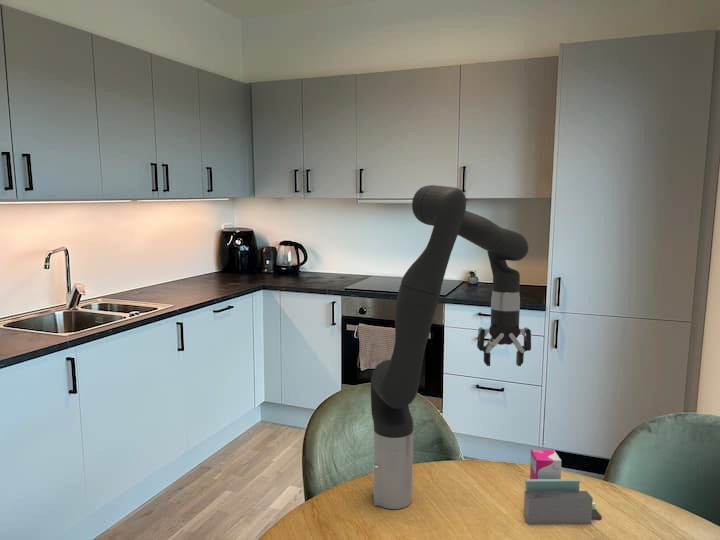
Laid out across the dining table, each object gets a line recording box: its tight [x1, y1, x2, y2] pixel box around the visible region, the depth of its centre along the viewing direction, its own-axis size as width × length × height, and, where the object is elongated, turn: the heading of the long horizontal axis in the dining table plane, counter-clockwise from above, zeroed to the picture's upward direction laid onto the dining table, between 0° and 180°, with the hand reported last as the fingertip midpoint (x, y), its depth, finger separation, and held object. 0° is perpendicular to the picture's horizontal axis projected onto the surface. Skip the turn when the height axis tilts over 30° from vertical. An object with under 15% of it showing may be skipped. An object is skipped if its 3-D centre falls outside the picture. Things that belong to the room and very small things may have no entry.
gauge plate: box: [524, 478, 596, 508], centre depth 120 cm, size 16×1×7 cm, turn 91°
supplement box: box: [529, 449, 562, 479], centre depth 125 cm, size 6×6×12 cm
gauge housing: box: [523, 490, 603, 525], centre depth 121 cm, size 17×10×6 cm, turn 91°
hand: (503, 365), depth 145 cm, fingers open, 8 cm apart
